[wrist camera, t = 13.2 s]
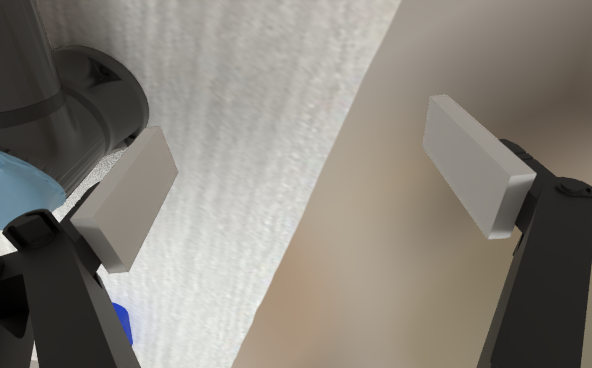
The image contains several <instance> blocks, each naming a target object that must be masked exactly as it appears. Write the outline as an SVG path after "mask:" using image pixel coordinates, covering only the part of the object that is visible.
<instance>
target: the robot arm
mask: <svg viewBox="0 0 592 368" xmlns="http://www.w3.org/2000/svg"><path fill="white" fill-rule="evenodd" d="M148 116H149V110H148V103H147V100H146V97H145V94H144V92H143V90H142V88H141V86H140V85H139V83H138V82H137V80H136V79H135V78H134V76H133V75H132V74H131V73H130V72H129V71H128V70H127V69H126V68H125V67H124V66H123V65H122V64H120V63H119V62H118V61H116V60H115V59H113V58H112V57H110V56H108V55H106V54H104V53H102V52H100V51H97V50H95V49H91V48H88V47H82V46H65V47H61V48H58V49H55V50H53V51H51V48H50V45H49V41H48V38H47V35H46V32H45V29H44V25H43V22H42V19H41V16H40V13H39V9H38V6H37V3H36V0H0V230H3V232H2V234H3V235H4V236H5V237H6V238H7V239H8V240H9V241H10V242H11V243H12V245H13V246H14V247H15V248H16V249H17V250H18V251H16V252H13V253H9V254H6V255H3V256H0V368H29V367H30V361H31V356H32V351H33V345H34V340H35V346H36V352H37V357H38V363H39V368H141V367H140V365H139V362H138V360H137V358H136V356H135V353H134V351H133V349H132V347H131V344H130V342H129V340H128V338H127V335H126V333H125V331H124V329H123V327H122V324H121V322H120V320H119V318H118V315H117V313H116V311H115V309H114V306H113V304H112V302H111V300H110V298H109V295H108V293H107V291H106V289H105V286H104V284H103V282H102V280H101V278H100V276H99V275H98V274H97V272H96V271H97V270H98V268H99V266H100V265H101V263H102V265H103V266H104V268H105V269H106V270H107V272H108V273H109V274H110V273H122V272H129V270H130V268H131V266H132V264H133V262H134V260H135V258H136V256H137V254H138V252H139V250H140V248H141V246H142V244H143V242H144V240H145V238H146V236H147V234H148V232H149V230H150V228H151V226H152V224H153V222H154V220H155V218H156V216H157V214H158V212H159V210H160V208H161V206H162V204H163V202H164V200H165V198H166V196H167V194H168V192H169V190H170V188H171V186H172V184H173V182H174V180H175V178H176V176H177V174H178V170H177V168H176V165H175V163H174V160H173V157H172V155H171V152H170V150H169V147H168V145H167V142H166V140H165V137H164V135H163V132H162V130H161V127H160V126H157V127H148V128H146V125H147V122H148ZM129 146H130V147H129ZM127 147H129V148H128V149H127V150H126V152H125V153H124V154H123V155H122V156H121V158H120V159H119V160H118V161H117V163H116V164H115V165H114V166H113V167H112V169H111V170H110V171H109V172H108V174H107V175H106V176H105V177H104V178H103V180H102V181H101V182H98V183H96V184H95V185H93V186H92V187H91V188H89V189H88V190H87V191H86V192H85V193H84V195H83V196H82V197H81V200H78V202H77V203H76V204H75V207H73V208H72V209H71V210H70V211H69V212H68V213H67V215H66V216H65V217H64V218H63V219H62V221H61V222H60V223H59V222H58V221H57V220H56V218H55V217H54V216H53V214H52V212H53V211H54V210H55V209H56V208H59V207H60V206H61V205H63V204H64V203H65V201H66V199H67V198H68V197H69V196H70V195H71V194H72V192H73V191H74V190H75V189H76V188H77V187H78V186H79V184H80V183H81V182H82V181H83V180H84V179H85V178H86V176H87V175H88V174H89V173H90V172H91V171H92V170H93V168H94V167H95V166H96V165H97V164H98V163H99V161H100V160H101V159H102V158H103V157H105V156H107V155H110V154H112V153H115V152H118V151H120V150H123V149H125V148H127ZM423 148H424V150H425V151H426V152H427V154H428V155H429V157H430V158H431V160H432V161H433V162H434V164H435V165H436V167H437V168H438V170H439V171H440V173H441V174H442V175H443V177H444V178H445V179H446V181H447V182H448V184H449V185H450V187H451V188H452V190H453V191H454V192H455V194H456V195H457V197H458V198H459V199H460V201H461V202H462V204H463V205H464V207H465V208H466V209H467V211H468V212H469V214H470V215H471V216H472V218H473V219H474V221H475V222H476V224H477V225H478V226H479V228H480V229H481V231H482V232H483V234H484V235H485V236H486V238H487V239H498V238H509V237H510V236H511V233H512V231H513V228H514V226H515V225H516V226H517V227H518V228H519V230H520V231H521V232H522V235H521V237H520V239H519V241H518V244H517V246H516V248H515V251H514V253H513V256H514V257H513V260H512V263H511V266H510V269H509V272H508V275H507V278H506V281H505V284H504V287H503V290H502V293H501V296H500V299H499V302H498V305H497V308H496V311H495V314H494V317H493V320H492V323H491V326H490V329H489V332H488V335H487V338H486V341H485V344H484V347H483V350H482V353H481V356H480V359H479V362H478V365H477V368H580V367H581V357H582V347H583V339H584V329H585V319H586V310H587V301H588V291H589V283H590V274H591V264H592V186H590V185H588V184H586V183H584V182H582V181H579V180H576V179H572V178H566V177H556V176H555V175H554V174H553V173H551V172H550V171H549V170H548V169H546V168H545V167H544V166H543V165H541V164H540V163H539V162H538V161H537V160H535V159H533V157H532V156H531V155H529V154H528V153H526V151H525V150H523V149H522V148H521V147H520V146H519V145H517V144H515V143H513V142H511V141H508V140H506V139H497V138H496V137H494V136H493V135H492V134H491V133H490V132H489V131H488V130H486V129H485V128H484V127H483V126H482V125H481V124H480V123H479V122H477V121H476V120H475V119H474V118H473V117H472V116H471V115H469V114H468V113H467V112H466V111H465V110H464V109H462V108H461V107H460V106H459V105H458V104H457V103H456V102H454V101H453V100H452V99H451V98H450V97H449V96H448V95H447V94H446V95H437V96H430V100H429V107H428V113H427V120H426V127H425V133H424V140H423Z"/></svg>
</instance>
